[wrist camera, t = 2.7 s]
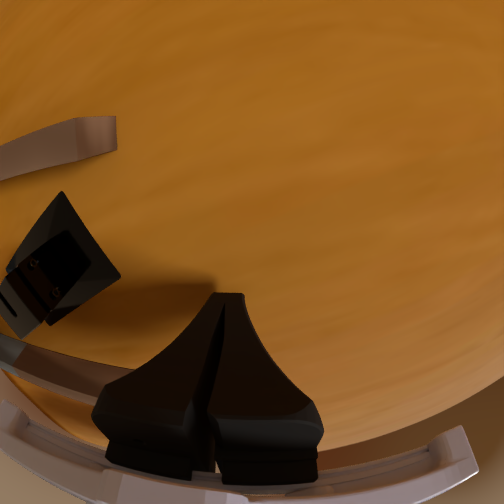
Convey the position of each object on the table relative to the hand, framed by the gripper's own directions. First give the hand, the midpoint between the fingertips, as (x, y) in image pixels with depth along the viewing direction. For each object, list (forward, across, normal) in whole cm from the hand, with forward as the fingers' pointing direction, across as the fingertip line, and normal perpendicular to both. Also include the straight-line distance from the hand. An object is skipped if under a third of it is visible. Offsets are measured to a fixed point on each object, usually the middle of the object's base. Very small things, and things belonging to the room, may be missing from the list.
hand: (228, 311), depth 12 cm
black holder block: (+2, +11, -1) cm, 11 cm away
